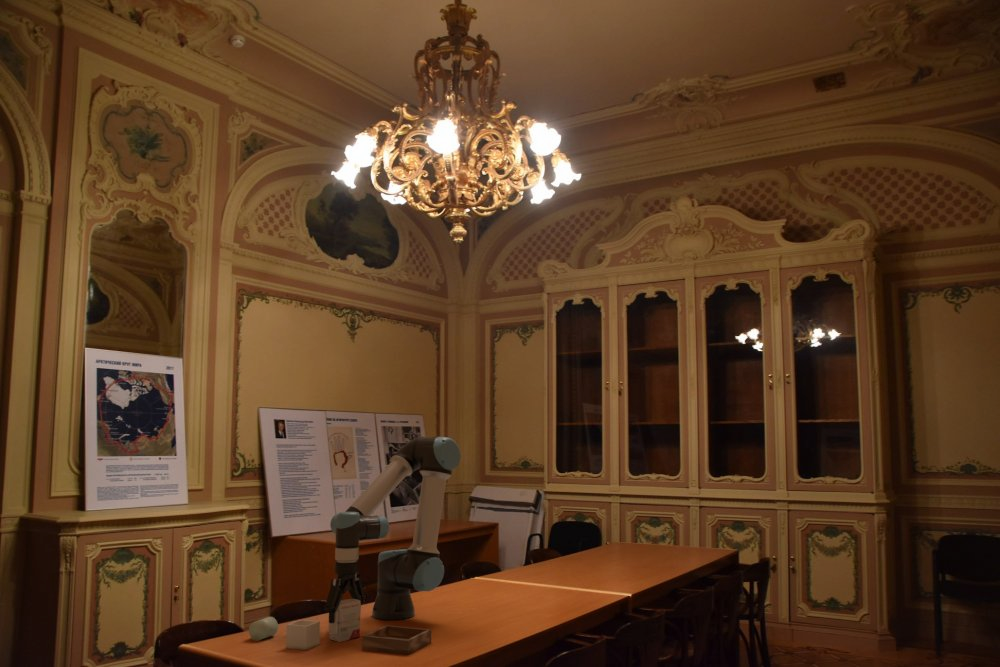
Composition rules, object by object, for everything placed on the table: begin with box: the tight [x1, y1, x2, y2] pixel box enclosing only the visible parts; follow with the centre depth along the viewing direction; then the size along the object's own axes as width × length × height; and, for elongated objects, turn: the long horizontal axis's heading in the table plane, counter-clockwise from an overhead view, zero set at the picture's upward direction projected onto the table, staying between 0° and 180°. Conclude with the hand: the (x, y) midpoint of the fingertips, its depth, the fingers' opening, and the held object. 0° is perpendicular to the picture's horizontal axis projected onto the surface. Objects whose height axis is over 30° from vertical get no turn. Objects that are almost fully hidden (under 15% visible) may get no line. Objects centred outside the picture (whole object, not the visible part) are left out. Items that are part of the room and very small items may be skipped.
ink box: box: [329, 597, 362, 643], centre depth 266 cm, size 9×5×12 cm, turn 137°
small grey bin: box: [285, 619, 321, 651], centre depth 256 cm, size 7×7×7 cm
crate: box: [361, 625, 432, 656], centre depth 256 cm, size 15×16×4 cm
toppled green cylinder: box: [248, 616, 279, 642], centre depth 266 cm, size 7×6×6 cm
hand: (344, 628), depth 265 cm, fingers open, 13 cm apart
